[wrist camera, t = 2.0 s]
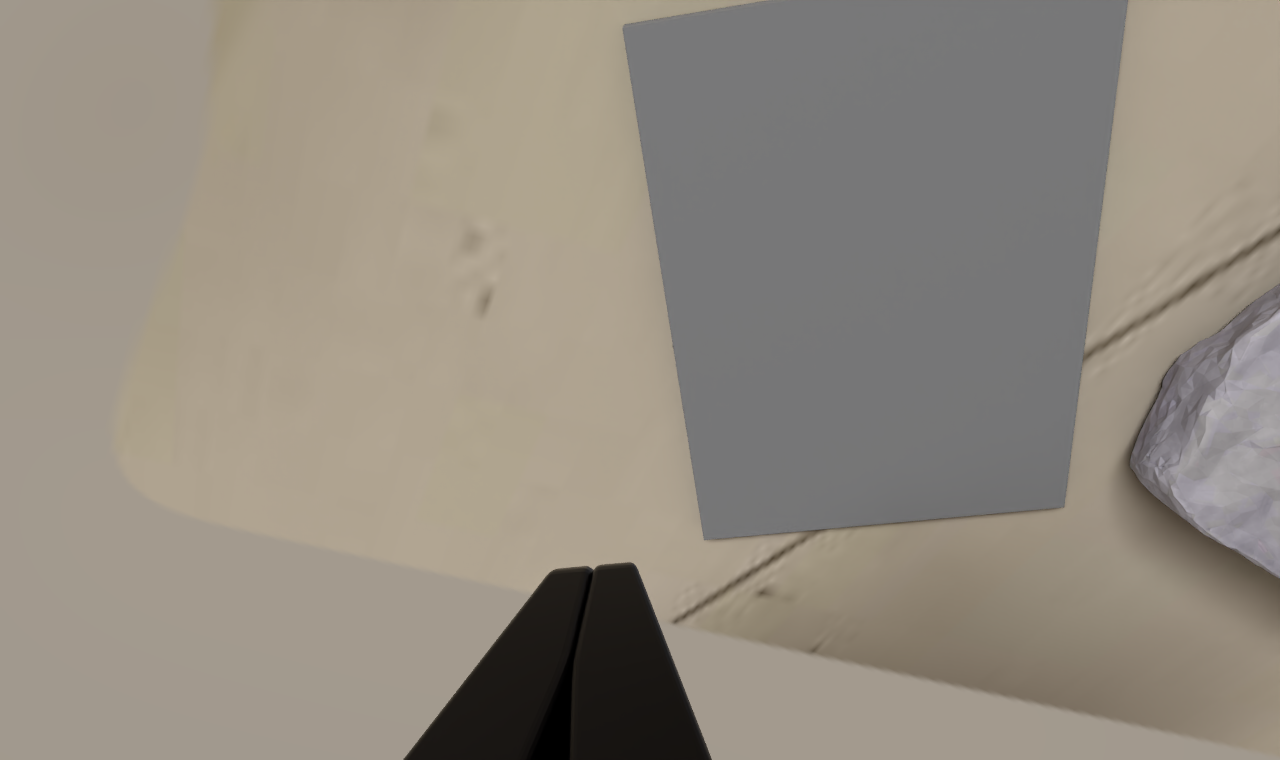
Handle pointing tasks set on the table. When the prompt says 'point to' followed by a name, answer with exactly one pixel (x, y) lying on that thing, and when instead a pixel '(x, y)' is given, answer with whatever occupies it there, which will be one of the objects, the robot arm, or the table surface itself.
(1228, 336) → the stone block
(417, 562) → the table surface
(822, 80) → the mat
